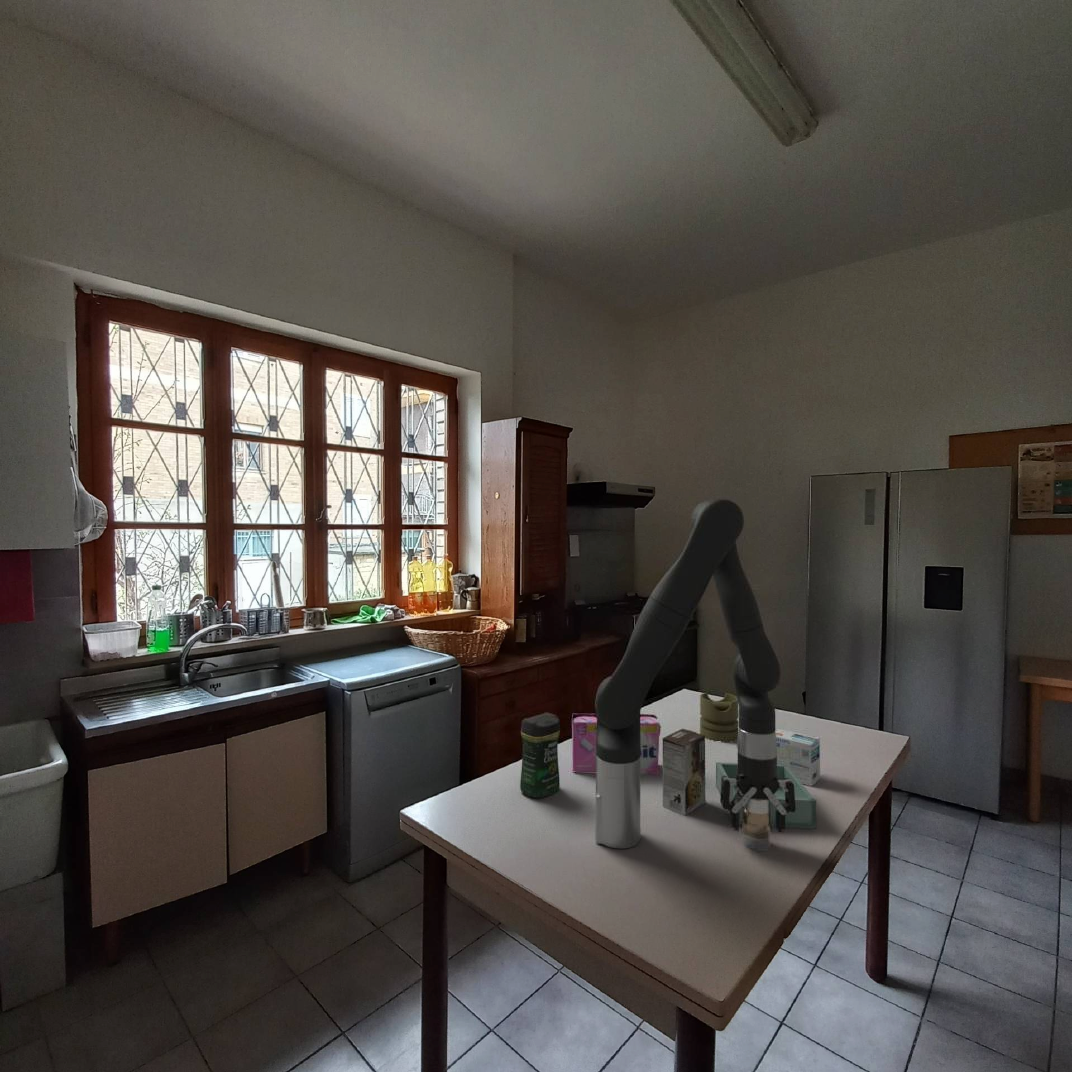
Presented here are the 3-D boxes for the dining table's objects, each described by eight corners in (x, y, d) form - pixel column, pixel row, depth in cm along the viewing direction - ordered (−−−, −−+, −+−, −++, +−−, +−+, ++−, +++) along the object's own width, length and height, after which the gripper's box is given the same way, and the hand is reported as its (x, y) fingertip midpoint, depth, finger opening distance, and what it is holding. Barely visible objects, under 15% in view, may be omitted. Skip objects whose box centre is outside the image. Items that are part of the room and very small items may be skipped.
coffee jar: (537, 802, 137) (537, 724, 137) (515, 791, 143) (514, 716, 142) (565, 789, 144) (565, 715, 143) (543, 779, 149) (543, 707, 149)
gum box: (659, 763, 160) (659, 714, 160) (663, 775, 152) (663, 723, 152) (572, 761, 161) (571, 712, 161) (572, 773, 153) (572, 722, 153)
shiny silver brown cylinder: (746, 850, 116) (746, 801, 116) (739, 836, 122) (739, 789, 122) (773, 852, 116) (773, 802, 116) (765, 837, 121) (765, 790, 121)
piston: (741, 703, 174) (703, 701, 176) (741, 743, 175) (702, 741, 176) (734, 692, 186) (697, 691, 187) (734, 730, 186) (697, 728, 187)
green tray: (734, 824, 127) (734, 797, 126) (716, 786, 145) (716, 762, 145) (815, 828, 125) (816, 800, 125) (786, 788, 144) (786, 764, 144)
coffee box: (682, 793, 141) (682, 727, 141) (706, 802, 137) (706, 734, 137) (661, 806, 135) (661, 737, 135) (685, 816, 130) (685, 744, 130)
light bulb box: (820, 779, 150) (821, 737, 150) (812, 787, 145) (812, 744, 145) (778, 767, 157) (778, 727, 157) (769, 775, 152) (769, 734, 152)
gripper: (725, 757, 115) (725, 838, 116) (799, 759, 114) (800, 841, 114) (717, 743, 123) (717, 819, 123) (787, 744, 121) (787, 822, 122)
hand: (757, 829), depth 119 cm, fingers open, 8 cm apart
